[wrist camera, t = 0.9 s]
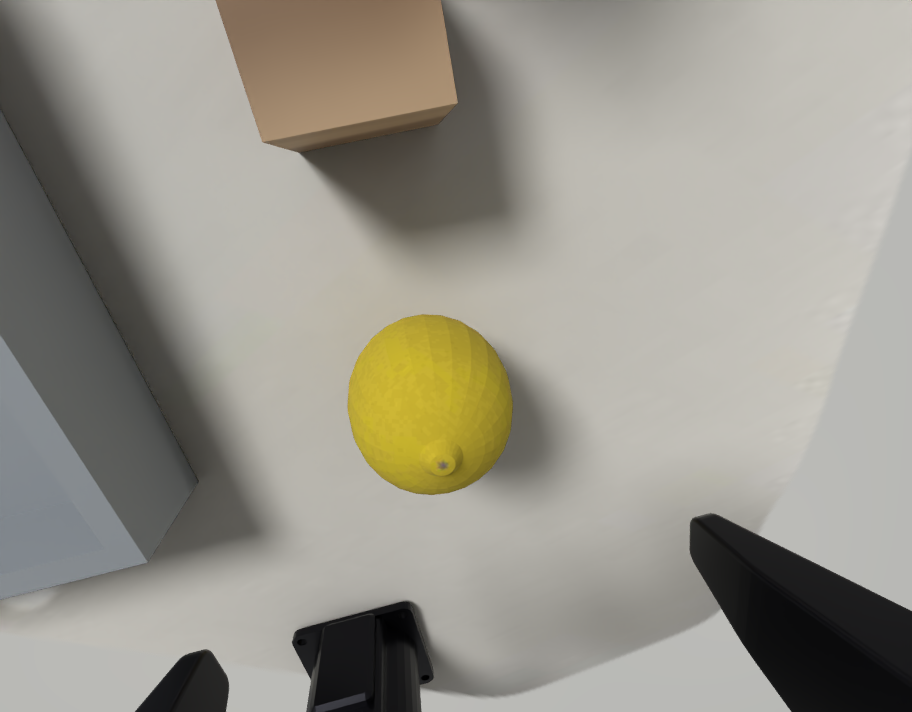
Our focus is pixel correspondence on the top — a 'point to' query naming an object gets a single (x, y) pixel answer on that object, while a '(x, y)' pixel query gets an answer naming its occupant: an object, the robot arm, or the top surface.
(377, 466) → the lemon
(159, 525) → the tote
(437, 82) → the walnut cube
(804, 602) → the robot arm
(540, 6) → the top surface
